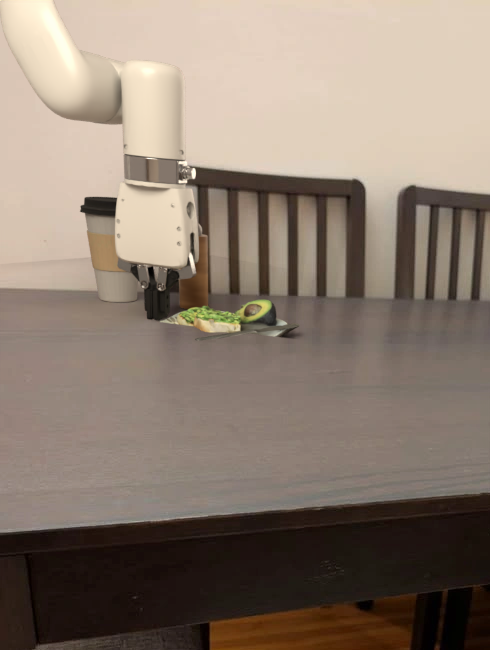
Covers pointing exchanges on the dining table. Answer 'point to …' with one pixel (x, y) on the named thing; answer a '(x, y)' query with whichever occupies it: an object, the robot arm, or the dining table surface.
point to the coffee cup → (107, 251)
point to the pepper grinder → (196, 279)
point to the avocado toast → (235, 320)
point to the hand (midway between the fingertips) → (157, 317)
